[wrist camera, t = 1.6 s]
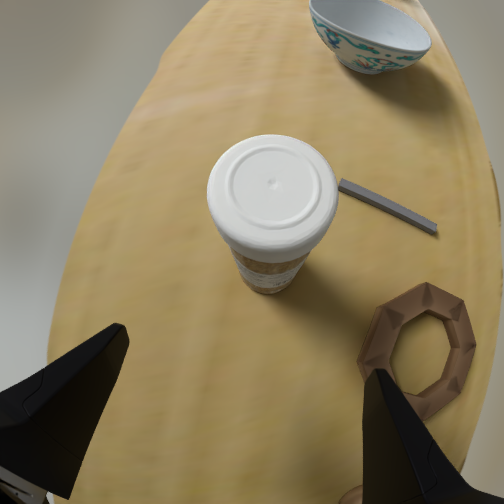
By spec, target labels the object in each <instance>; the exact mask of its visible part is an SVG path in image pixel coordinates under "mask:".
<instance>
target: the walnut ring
mask: <svg viewBox="0 0 504 504" xmlns="http://www.w3.org/2000/svg"><path fill="white" fill-rule="evenodd" d="M422 312H425V313H427V314H430V315H432V316H434V317H437V318H439V319H441V320H443V323H444V326H445V329H446V332H447V336H448V339H449V342H450V346H451V350H450V353H449V356H448V359H447V362H446V365H445V368H444V371H443V374H442V376H441V379H439V380H438V381H436V382H435V383H434V384H432V385H431V386H429V387H428V388H427V389H425V390H424V391H422V392H421V393H419V394H418V395H413V394H409V393H406V392H402V393H403V394H404V396H405V397H406V399H407V400H408V401H409V403H410V404H411V406H412V407H413V409H414V410H415V412H416V413H417V415H418V416H419V418H420V419H421V421H424V420H425V419H427V418H428V417H430V416H431V415H433V414H434V413H435V412H437V411H438V410H439V409H441V408H442V407H444V406H445V405H446V404H447V403H449V402H450V401H451V400H453V399H454V398H455V397H456V396H458V395H459V394H460V393H461V390H462V388H463V385H464V382H465V379H466V376H467V374H468V371H469V368H470V365H471V361H472V358H473V355H474V351H475V348H476V341H475V337H474V334H473V330H472V326H471V323H470V320H469V316H468V313H467V310H466V307H465V304H464V301H463V300H462V299H460V298H458V297H456V296H454V295H452V294H450V293H448V292H446V291H444V290H442V289H440V288H438V287H436V286H434V285H432V284H429V283H427V282H425V283H422V284H419V285H417V286H415V287H414V288H412V289H410V290H408V291H407V292H405V293H403V294H401V295H400V296H398V297H396V298H394V299H392V300H390V301H389V302H387V303H385V304H383V305H381V306H379V307H377V309H376V312H375V314H374V317H373V320H372V323H371V326H370V328H369V331H368V334H367V336H366V339H365V342H364V344H363V347H362V349H361V352H360V354H359V357H358V359H357V363H358V366H359V369H360V372H361V374H362V377H363V380H364V383H365V381H366V379H367V378H368V377H369V375H370V374H371V372H372V371H373V369H375V368H384V369H386V370H387V372H388V373H389V374H390V376H391V377H392V379H393V380H394V381H395V378H394V375H393V372H392V369H391V366H390V363H389V358H390V356H391V353H392V351H393V348H394V345H395V342H396V340H397V337H398V334H399V331H400V328H401V325H402V324H404V323H406V322H407V321H409V320H411V319H412V318H414V317H416V316H417V315H419V314H421V313H422ZM395 383H396V381H395Z"/></svg>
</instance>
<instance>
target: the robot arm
mask: <svg viewBox="0 0 504 504" xmlns="http://www.w3.org/2000/svg"><path fill="white" fill-rule="evenodd" d="M128 347H129V337H128V333H127V330H126V327H125V326H124V325H122V324H119V323H113V324H111V325H110V326H108V327H107V328H105V329H104V330H102V331H100V332H99V333H97V334H96V335H94V336H93V337H91V338H89V339H88V340H86V341H85V342H83V343H82V344H80V345H78V346H77V347H75V348H74V349H72V350H71V351H69V352H68V353H66V354H64V355H63V356H61V357H60V358H58V359H57V360H55V361H54V362H52V363H50V364H49V365H47V366H46V367H45V368H43V369H41V370H40V371H38V372H37V373H35V374H33V375H32V376H30V377H28V378H27V379H25V380H23V381H21V382H19V383H18V384H15V385H14V386H12V387H10V388H8V389H6V390H4V391H2V392H0V504H49V502H48V500H47V497H46V494H47V492H48V491H49V492H50V493H53V494H55V495H57V496H60V497H62V498H65V499H67V500H69V498H70V495H71V493H72V490H73V487H74V484H75V481H76V478H77V475H78V473H79V470H80V467H81V465H82V461H83V459H84V456H85V454H86V451H87V449H88V446H89V444H90V441H91V439H92V436H93V434H94V431H95V429H96V426H97V424H98V422H99V419H100V417H101V415H102V412H103V410H104V408H105V405H106V403H107V401H108V399H109V396H110V394H111V392H112V390H113V388H114V385H115V383H116V381H117V379H118V376H119V373H120V370H121V367H122V364H123V361H124V358H125V355H126V352H127V349H128ZM362 431H363V492H362V504H504V498H501V497H497V496H494V495H491V494H488V493H484V492H481V491H479V490H476V489H474V488H473V487H471V486H470V485H469V484H468V483H467V482H466V481H465V480H464V479H463V477H462V476H461V475H460V474H459V472H458V471H457V470H456V469H455V468H454V466H453V465H452V464H451V463H450V461H449V460H448V459H447V457H446V456H445V455H444V453H443V452H442V450H441V449H440V448H439V446H438V445H437V443H436V441H435V440H434V439H433V437H432V436H431V434H430V433H429V431H428V429H427V428H426V426H425V425H424V424H423V422H422V421H421V419H420V418H419V416H418V415H417V413H416V412H415V410H414V409H413V407H412V406H411V404H410V403H409V401H408V400H407V399H406V397H405V396H404V394H403V393H402V391H401V390H400V389H399V387H398V386H397V384H396V383H395V381H394V380H393V379H392V377H391V376H390V374H389V373H388V372H387V370H386V369H384V368H375V369H373V371H372V372H371V374H370V375H369V377H368V378H367V379H366V381H365V385H364V403H363V419H362Z"/></svg>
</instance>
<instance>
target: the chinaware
mask: <svg viewBox="0 0 504 504" xmlns="http://www.w3.org/2000/svg"><path fill="white" fill-rule="evenodd" d="M309 7H310V13H311V18H312V21H313V24H314V26H315V29H316V31H317V33H318V34H319V36H320V38H321V39H322V40H323V42H324V43H325V44H326V45H327V46H328V47H329V48H330V49H331V50H332V51H333V52H334V53H335V54H336V56H337V58H338V59H339V61H340V62H341V63H343V64H344V65H345V66H347V67H349V68H350V69H353V70H355V71H357V72H361V73H365V74H379V73H381V72H382V71H394V70H399V69H402V68H405V67H408V66H410V65H412V64H413V63H415V62H417V61H418V60H419V59H420V58H422V57H423V56H424V55H425V54H426V53H427V51H428V50H429V49H430V47H431V44H432V42H431V38H430V36H429V34H428V33H427V31H426V30H425V29H424V28H423V27H422V26H421V25H420V24H419V23H418V22H417V21H415V20H414V19H413V18H412V17H410V16H409V15H407V14H406V13H404V12H402V11H401V10H399V9H397V8H395V7H393V6H391V5H389V4H387V3H385V2H382V1H380V0H310V1H309Z"/></svg>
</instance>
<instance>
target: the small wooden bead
mask: <svg viewBox="0 0 504 504" xmlns="http://www.w3.org/2000/svg"><path fill="white" fill-rule="evenodd" d="M362 492H363V485H361V486H358V487H355V488H353V489H352V490H350V491H349V492H347V493H346V494H345V495H344V496H343V497H342V498H341V500H340V501H339V504H362Z"/></svg>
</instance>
